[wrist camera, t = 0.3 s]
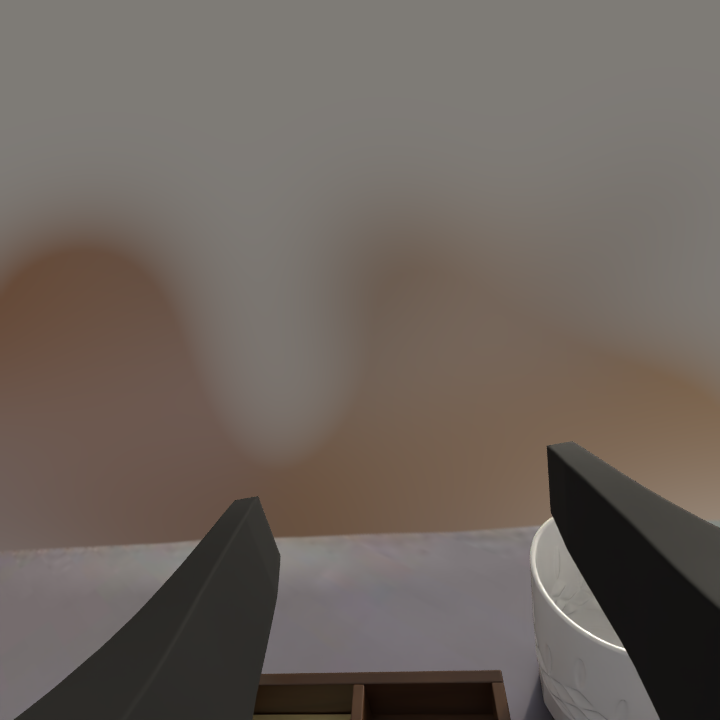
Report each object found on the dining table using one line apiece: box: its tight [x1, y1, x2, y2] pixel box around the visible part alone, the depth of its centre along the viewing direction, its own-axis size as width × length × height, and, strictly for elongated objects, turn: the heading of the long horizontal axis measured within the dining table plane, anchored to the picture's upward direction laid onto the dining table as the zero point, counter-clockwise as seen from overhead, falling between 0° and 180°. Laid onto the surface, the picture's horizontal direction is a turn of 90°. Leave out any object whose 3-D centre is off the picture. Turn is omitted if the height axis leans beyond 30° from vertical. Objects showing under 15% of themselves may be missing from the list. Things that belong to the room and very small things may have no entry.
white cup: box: [530, 517, 660, 720], centre depth 23 cm, size 8×8×10 cm
